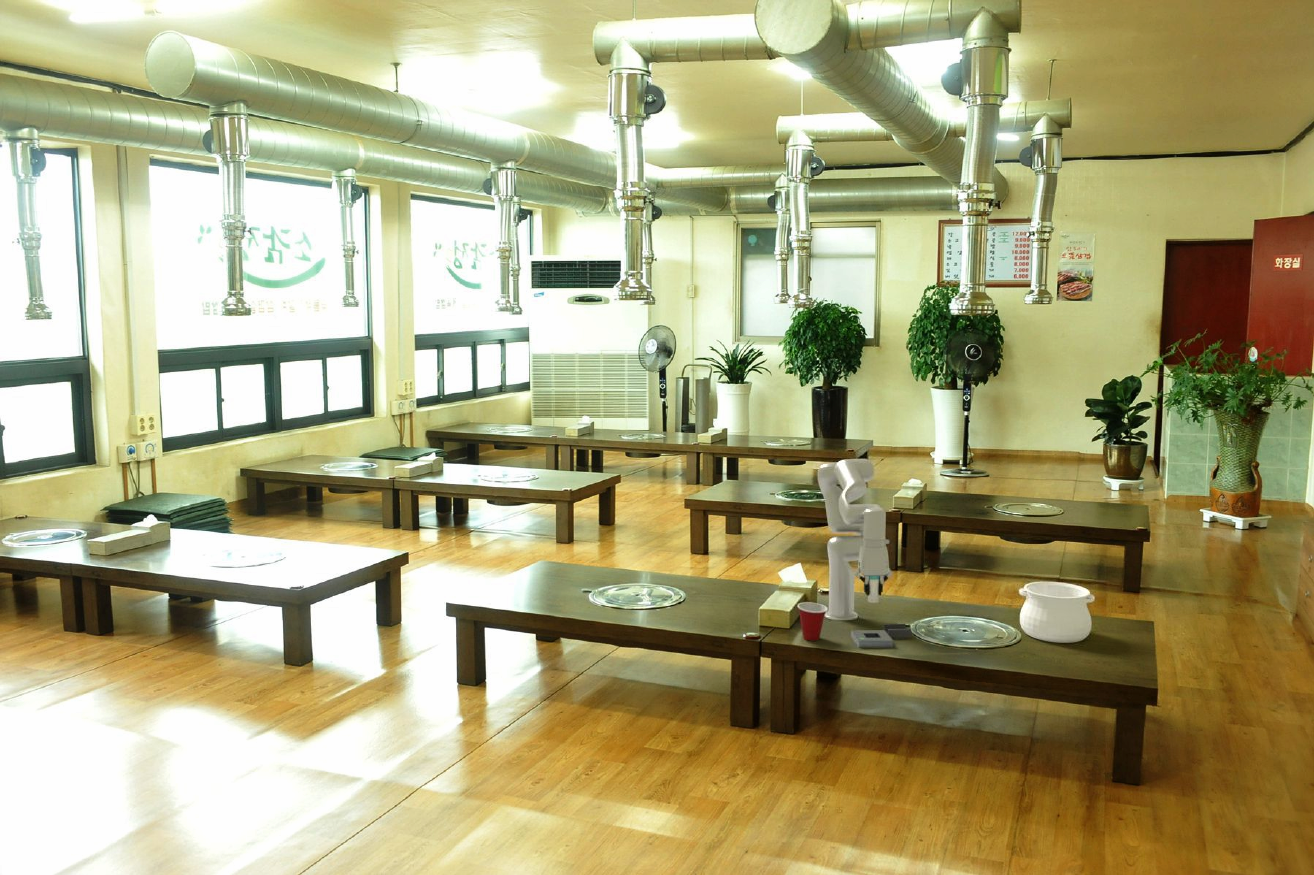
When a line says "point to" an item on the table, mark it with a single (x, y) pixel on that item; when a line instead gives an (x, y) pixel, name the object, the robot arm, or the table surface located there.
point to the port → (871, 638)
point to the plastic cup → (811, 619)
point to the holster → (897, 630)
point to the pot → (1056, 612)
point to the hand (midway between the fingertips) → (873, 594)
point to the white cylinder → (873, 589)
